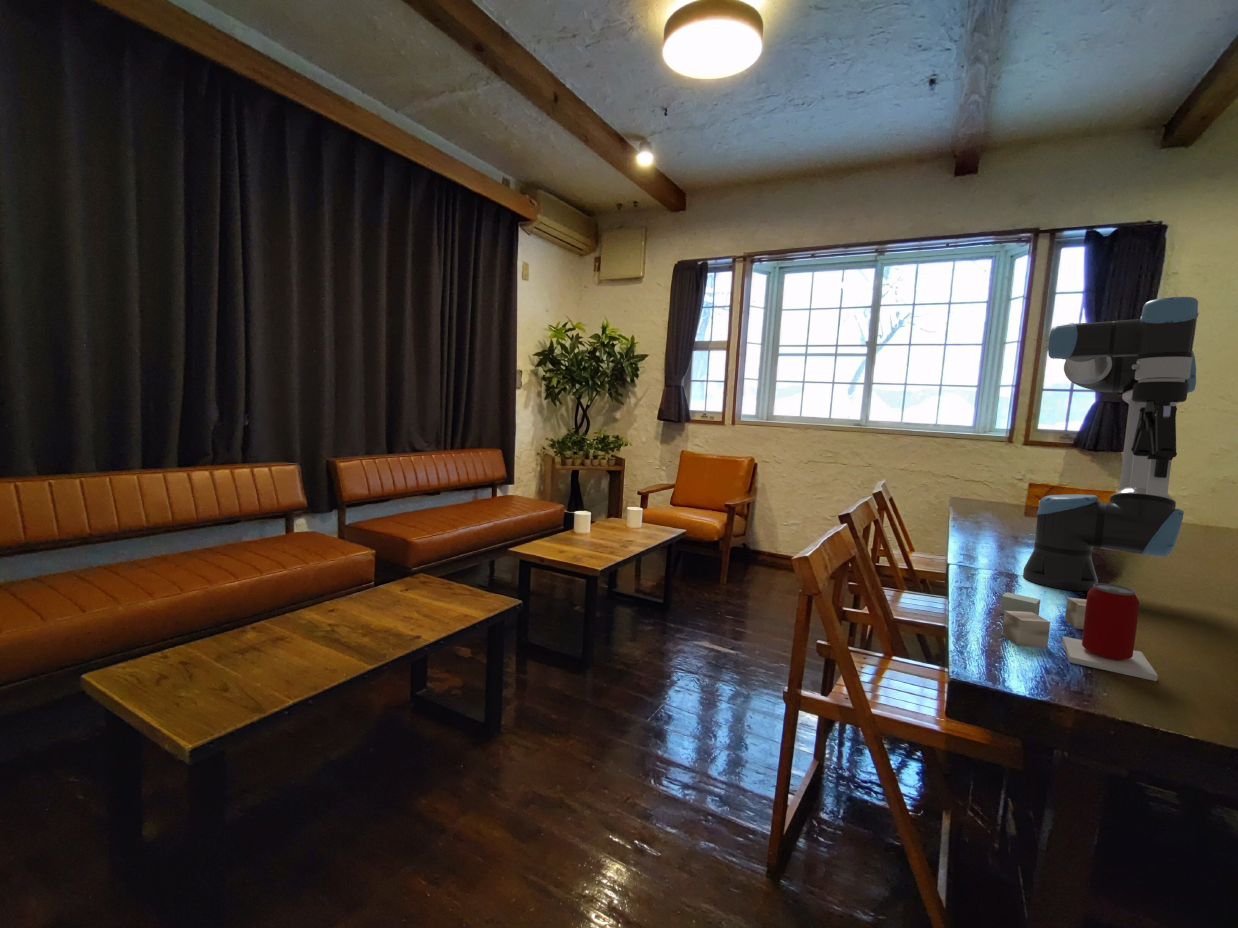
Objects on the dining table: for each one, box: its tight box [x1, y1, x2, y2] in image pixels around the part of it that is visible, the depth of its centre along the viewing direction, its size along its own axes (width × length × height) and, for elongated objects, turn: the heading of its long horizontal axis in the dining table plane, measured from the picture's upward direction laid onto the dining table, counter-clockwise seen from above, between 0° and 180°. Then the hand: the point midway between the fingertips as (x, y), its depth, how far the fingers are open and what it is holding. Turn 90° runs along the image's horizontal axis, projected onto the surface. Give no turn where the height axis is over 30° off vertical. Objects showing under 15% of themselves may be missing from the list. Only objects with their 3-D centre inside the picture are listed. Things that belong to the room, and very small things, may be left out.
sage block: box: [999, 591, 1041, 616], centre depth 117 cm, size 4×6×4 cm, turn 42°
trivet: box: [1061, 635, 1159, 682], centre depth 95 cm, size 11×11×1 cm
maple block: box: [1002, 611, 1051, 649], centre depth 102 cm, size 5×5×5 cm
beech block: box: [1064, 596, 1087, 630], centre depth 111 cm, size 5×5×5 cm
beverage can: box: [1081, 582, 1140, 660], centre depth 95 cm, size 7×7×12 cm
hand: (1147, 491), depth 106 cm, fingers open, 13 cm apart
